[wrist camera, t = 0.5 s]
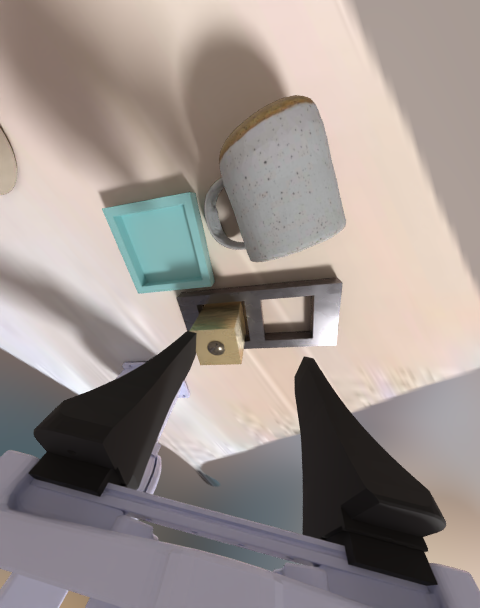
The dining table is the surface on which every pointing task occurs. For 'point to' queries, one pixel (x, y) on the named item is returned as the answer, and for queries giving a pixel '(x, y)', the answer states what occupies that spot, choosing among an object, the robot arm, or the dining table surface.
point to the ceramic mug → (278, 182)
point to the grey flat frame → (320, 290)
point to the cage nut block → (220, 333)
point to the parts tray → (162, 243)
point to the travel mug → (6, 166)
